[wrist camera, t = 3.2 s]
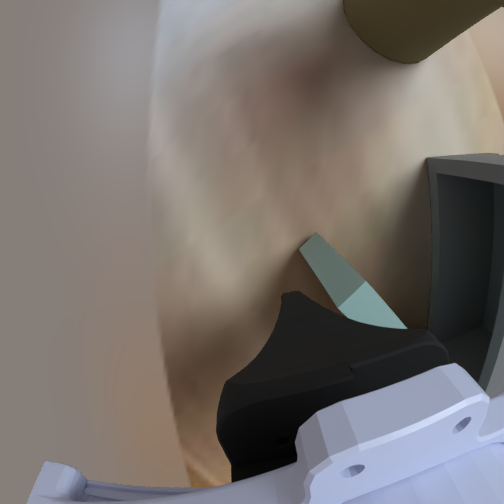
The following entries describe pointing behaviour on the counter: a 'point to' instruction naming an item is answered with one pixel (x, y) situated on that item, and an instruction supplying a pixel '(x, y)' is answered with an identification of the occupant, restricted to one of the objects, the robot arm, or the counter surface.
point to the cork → (414, 24)
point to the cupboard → (469, 263)
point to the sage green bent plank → (347, 286)
